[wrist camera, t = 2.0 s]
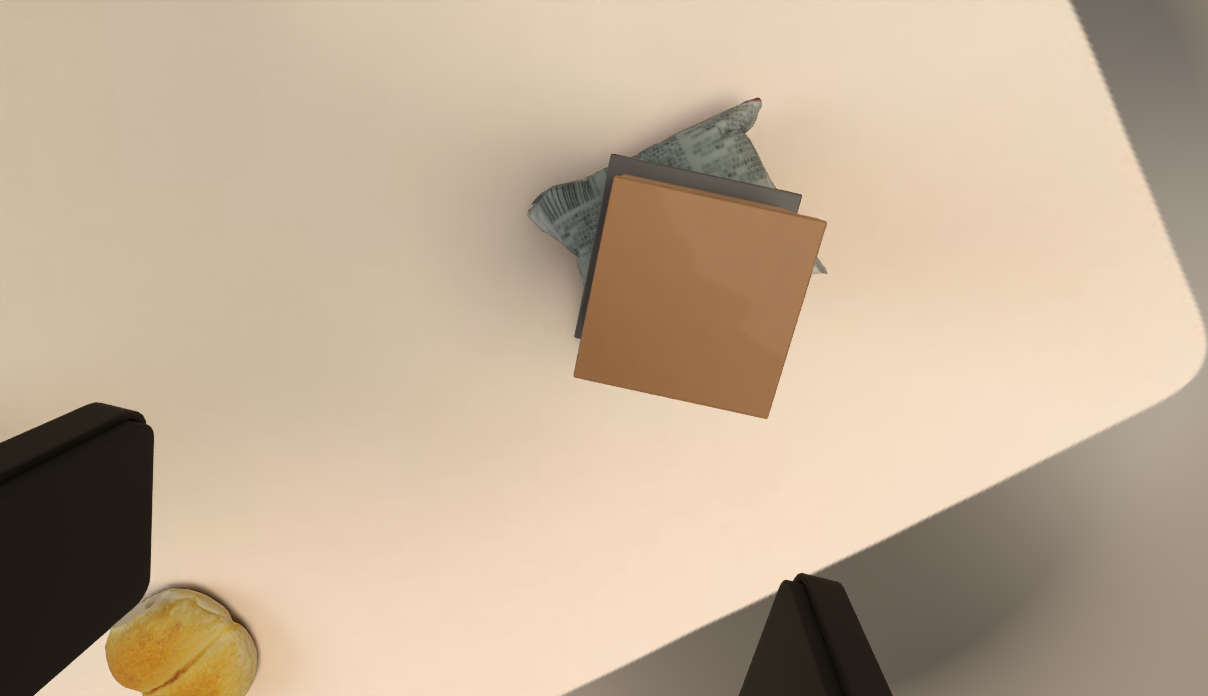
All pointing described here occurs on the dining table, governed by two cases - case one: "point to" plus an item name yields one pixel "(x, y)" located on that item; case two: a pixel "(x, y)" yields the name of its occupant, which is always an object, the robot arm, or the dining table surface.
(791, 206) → the charcoal box
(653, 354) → the kraft box
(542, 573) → the dining table surface
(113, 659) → the bread roll
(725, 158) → the packaged food
